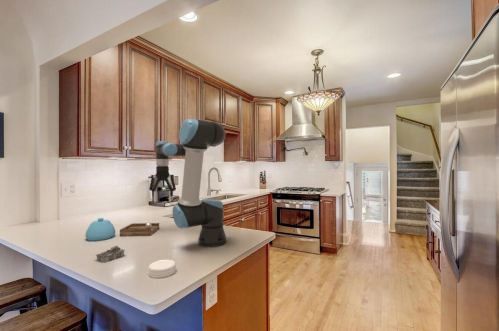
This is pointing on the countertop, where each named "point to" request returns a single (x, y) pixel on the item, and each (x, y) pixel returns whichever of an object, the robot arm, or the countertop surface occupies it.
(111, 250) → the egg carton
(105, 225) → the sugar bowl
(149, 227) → the ball
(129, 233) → the tray
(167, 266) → the coaster
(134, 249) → the countertop surface
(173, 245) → the countertop surface
